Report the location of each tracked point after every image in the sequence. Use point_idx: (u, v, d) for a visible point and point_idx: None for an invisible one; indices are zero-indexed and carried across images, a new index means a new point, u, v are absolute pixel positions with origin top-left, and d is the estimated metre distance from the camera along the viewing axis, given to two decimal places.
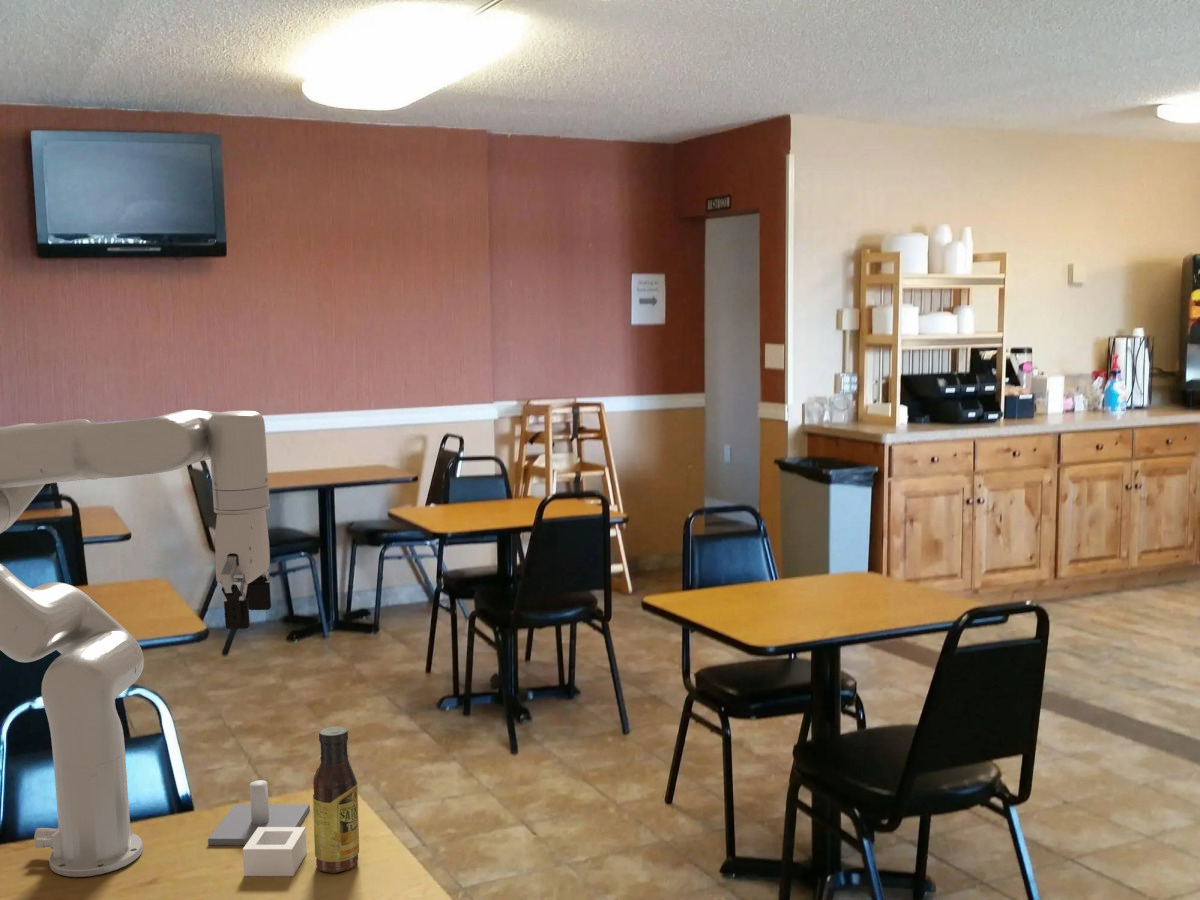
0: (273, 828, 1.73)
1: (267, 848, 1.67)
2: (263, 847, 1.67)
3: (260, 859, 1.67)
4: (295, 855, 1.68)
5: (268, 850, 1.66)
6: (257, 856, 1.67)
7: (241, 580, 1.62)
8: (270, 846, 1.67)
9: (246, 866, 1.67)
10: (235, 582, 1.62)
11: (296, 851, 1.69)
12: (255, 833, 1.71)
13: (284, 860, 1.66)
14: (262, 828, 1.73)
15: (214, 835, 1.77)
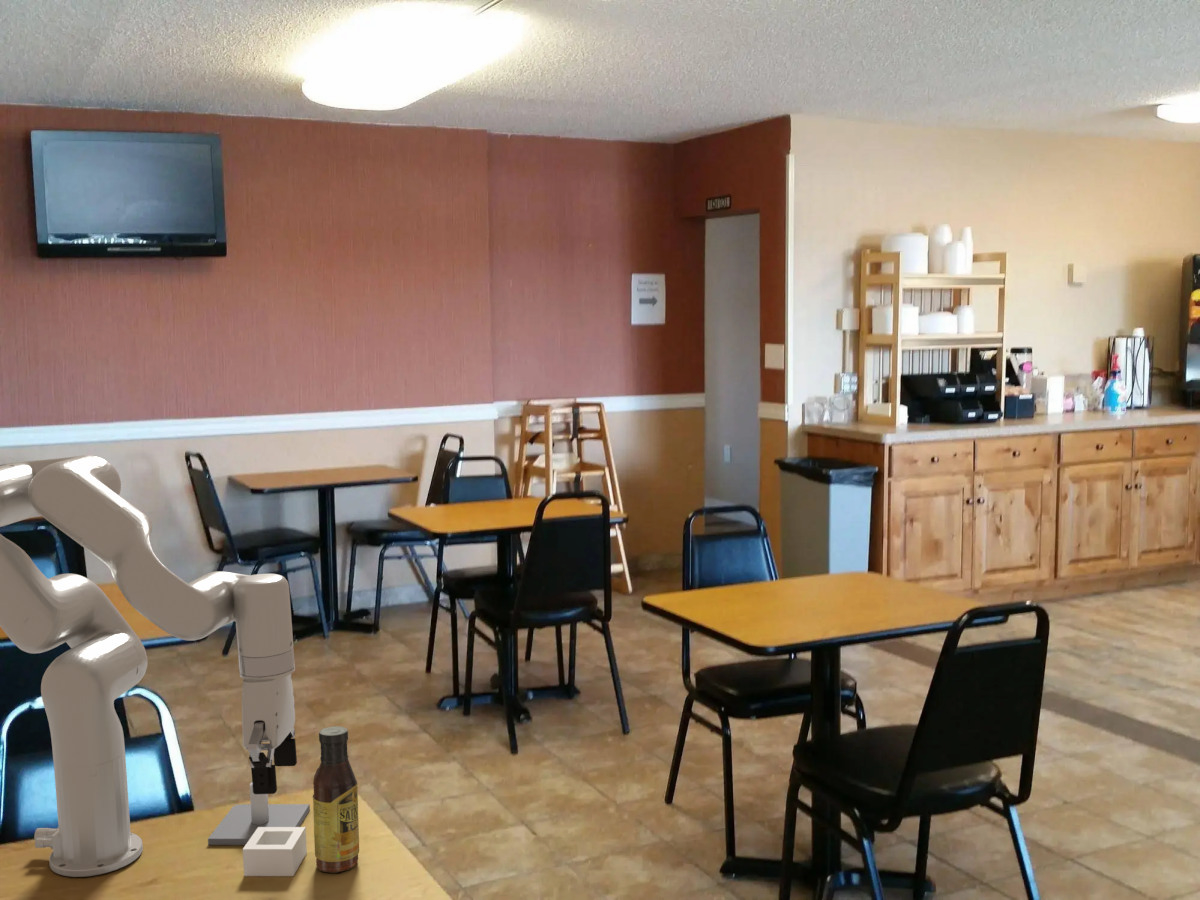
0: (273, 828, 1.73)
1: (267, 848, 1.67)
2: (263, 847, 1.67)
3: (260, 859, 1.67)
4: (295, 855, 1.68)
5: (268, 850, 1.66)
6: (257, 856, 1.67)
7: (268, 746, 1.63)
8: (270, 846, 1.67)
9: (246, 866, 1.67)
10: (262, 748, 1.63)
11: (296, 851, 1.69)
12: (255, 833, 1.71)
13: (284, 860, 1.66)
14: (262, 828, 1.73)
15: (214, 835, 1.77)
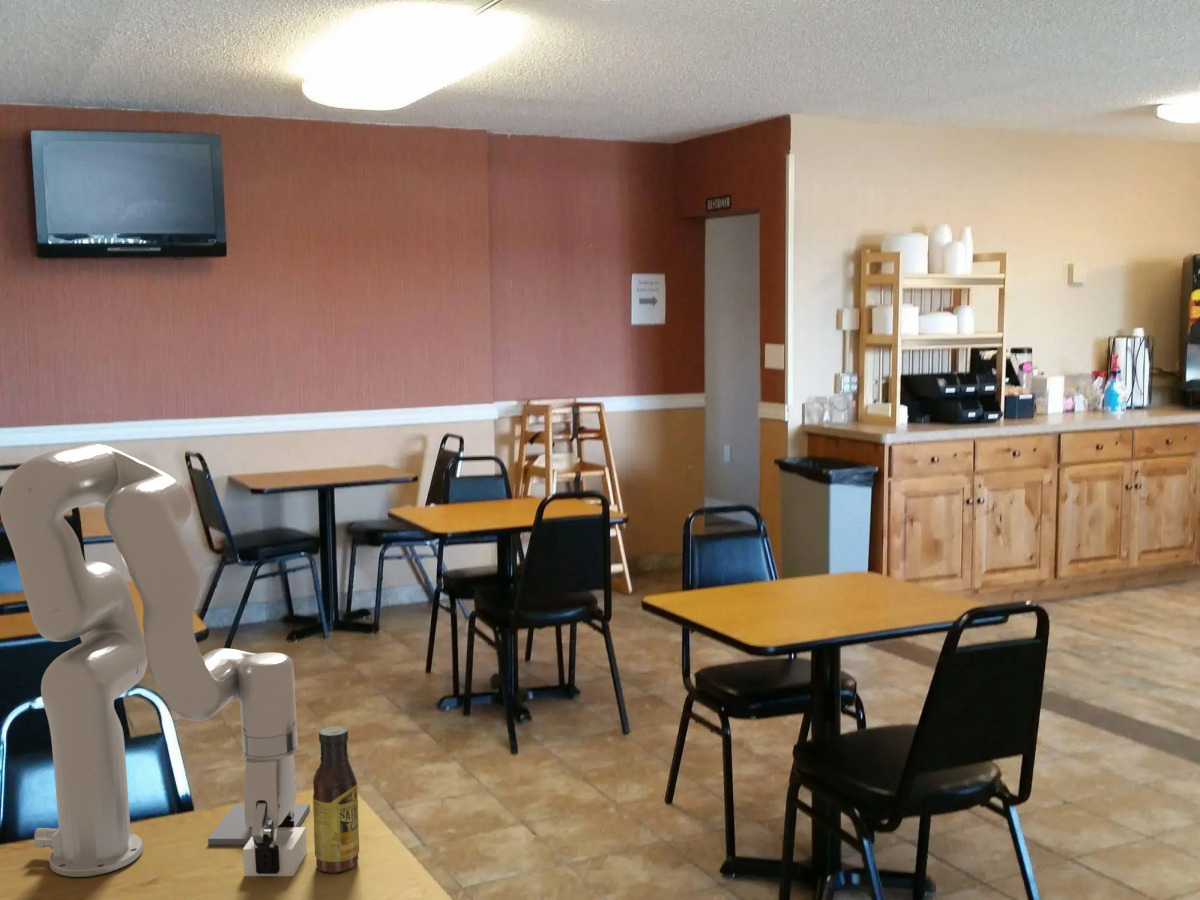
0: None
1: None
2: None
3: None
4: (296, 855, 1.68)
5: None
6: None
7: (271, 827, 1.65)
8: None
9: (246, 866, 1.67)
10: (265, 828, 1.65)
11: (296, 851, 1.69)
12: None
13: (284, 860, 1.66)
14: None
15: (214, 835, 1.77)
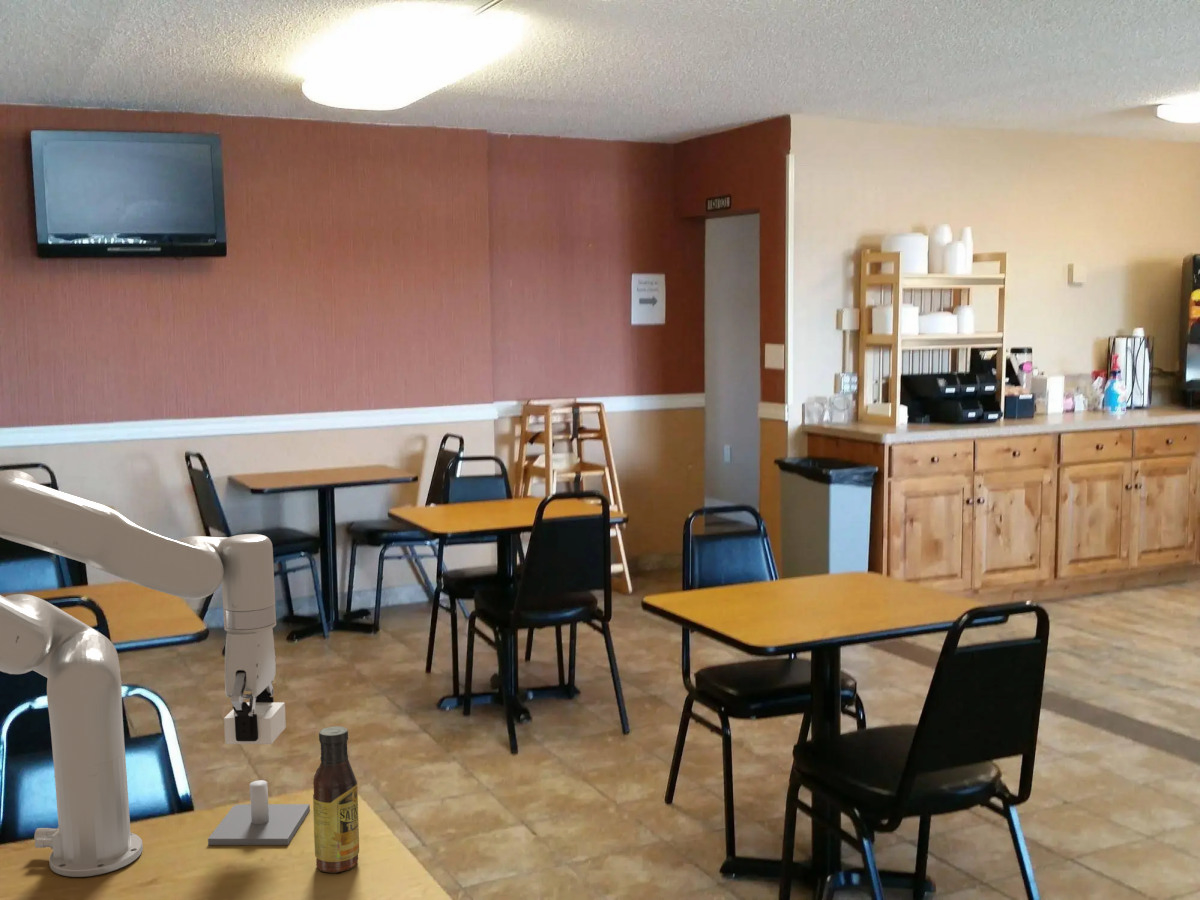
0: None
1: None
2: None
3: None
4: (274, 725, 1.78)
5: None
6: None
7: (249, 696, 1.75)
8: None
9: (227, 734, 1.77)
10: (244, 698, 1.75)
11: (275, 722, 1.78)
12: None
13: (263, 729, 1.76)
14: None
15: (214, 835, 1.77)
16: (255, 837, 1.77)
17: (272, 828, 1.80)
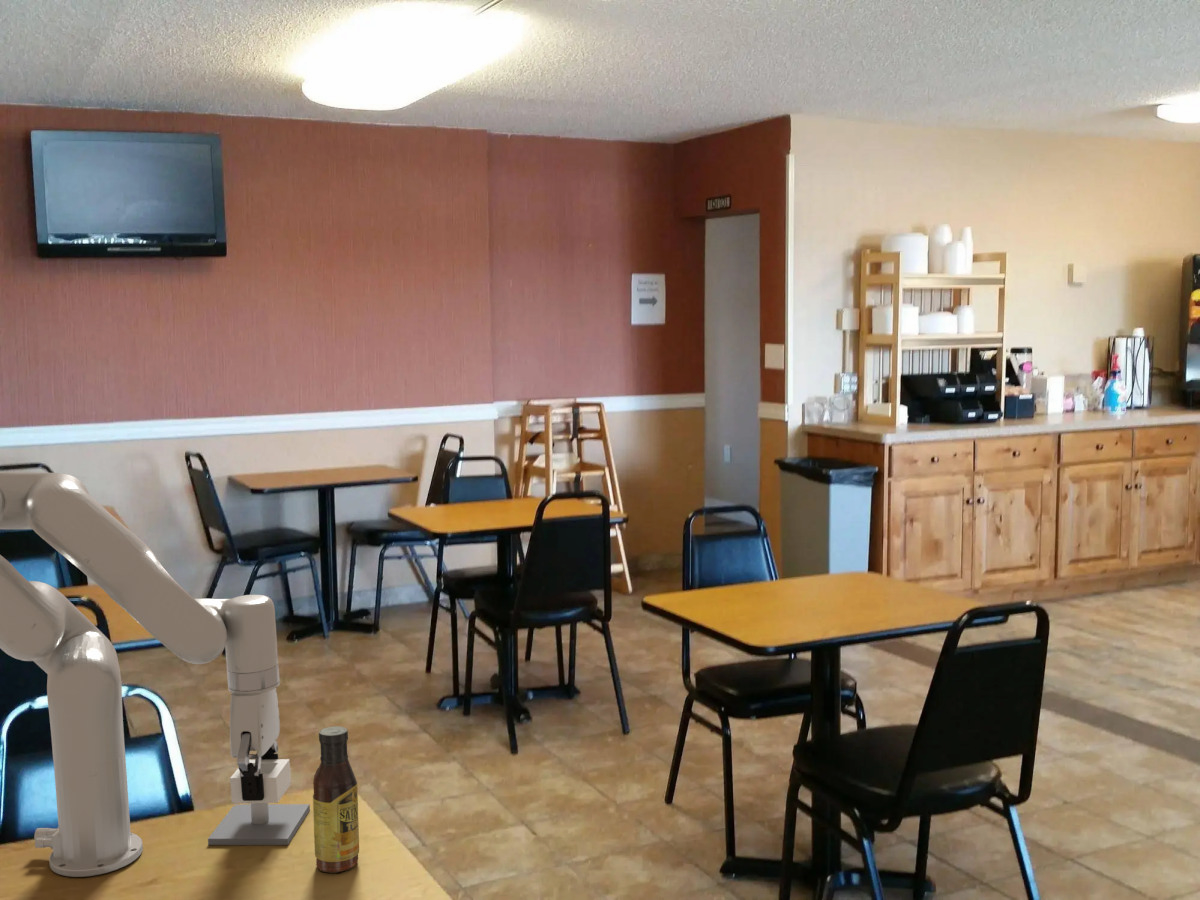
0: None
1: None
2: None
3: None
4: (280, 783, 1.80)
5: None
6: None
7: (255, 757, 1.77)
8: None
9: (233, 794, 1.78)
10: (250, 758, 1.77)
11: (281, 780, 1.80)
12: None
13: (269, 788, 1.78)
14: (249, 760, 1.84)
15: (214, 835, 1.77)
16: (255, 837, 1.77)
17: (272, 828, 1.80)
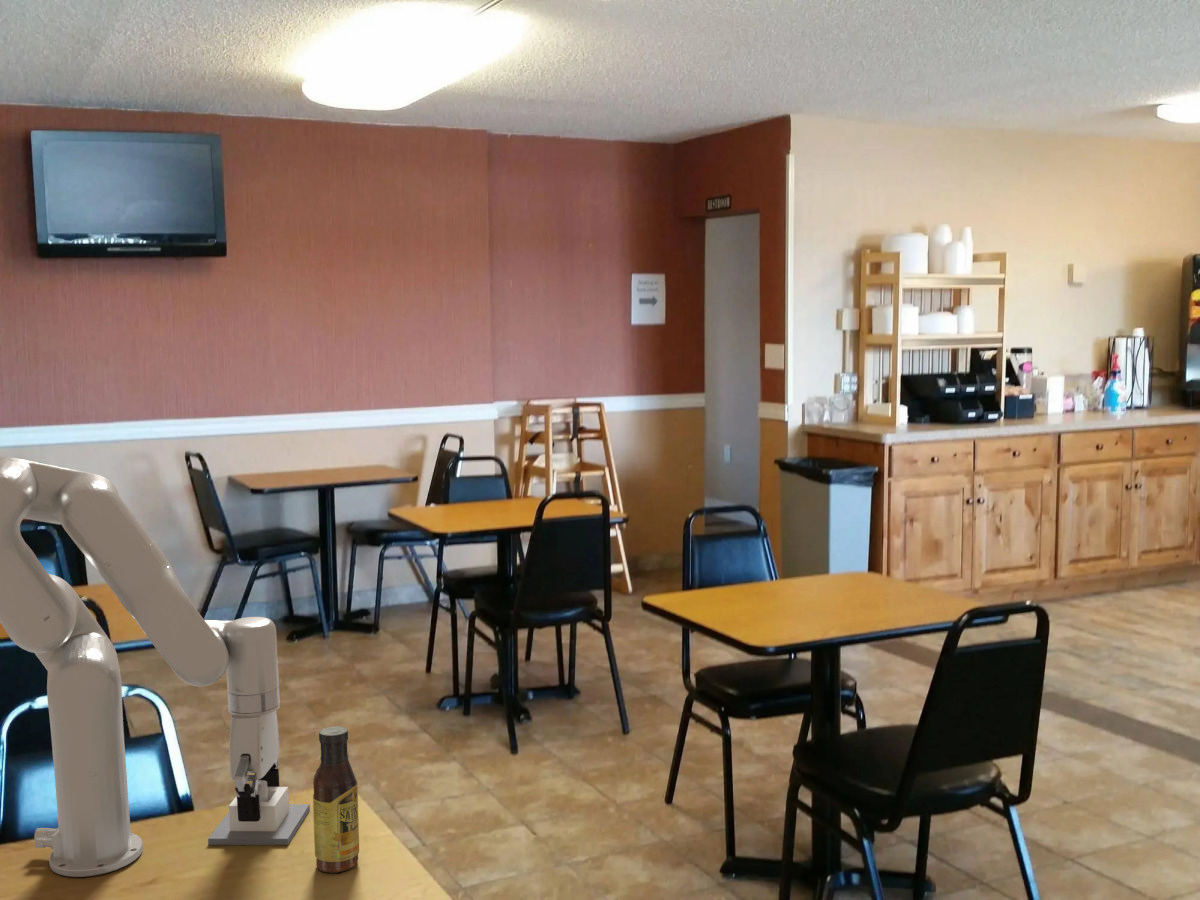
0: None
1: None
2: None
3: None
4: (278, 812, 1.80)
5: None
6: None
7: (253, 777, 1.77)
8: None
9: (231, 822, 1.79)
10: (247, 779, 1.77)
11: (279, 808, 1.80)
12: None
13: (267, 816, 1.78)
14: None
15: (214, 835, 1.77)
16: (255, 837, 1.77)
17: None
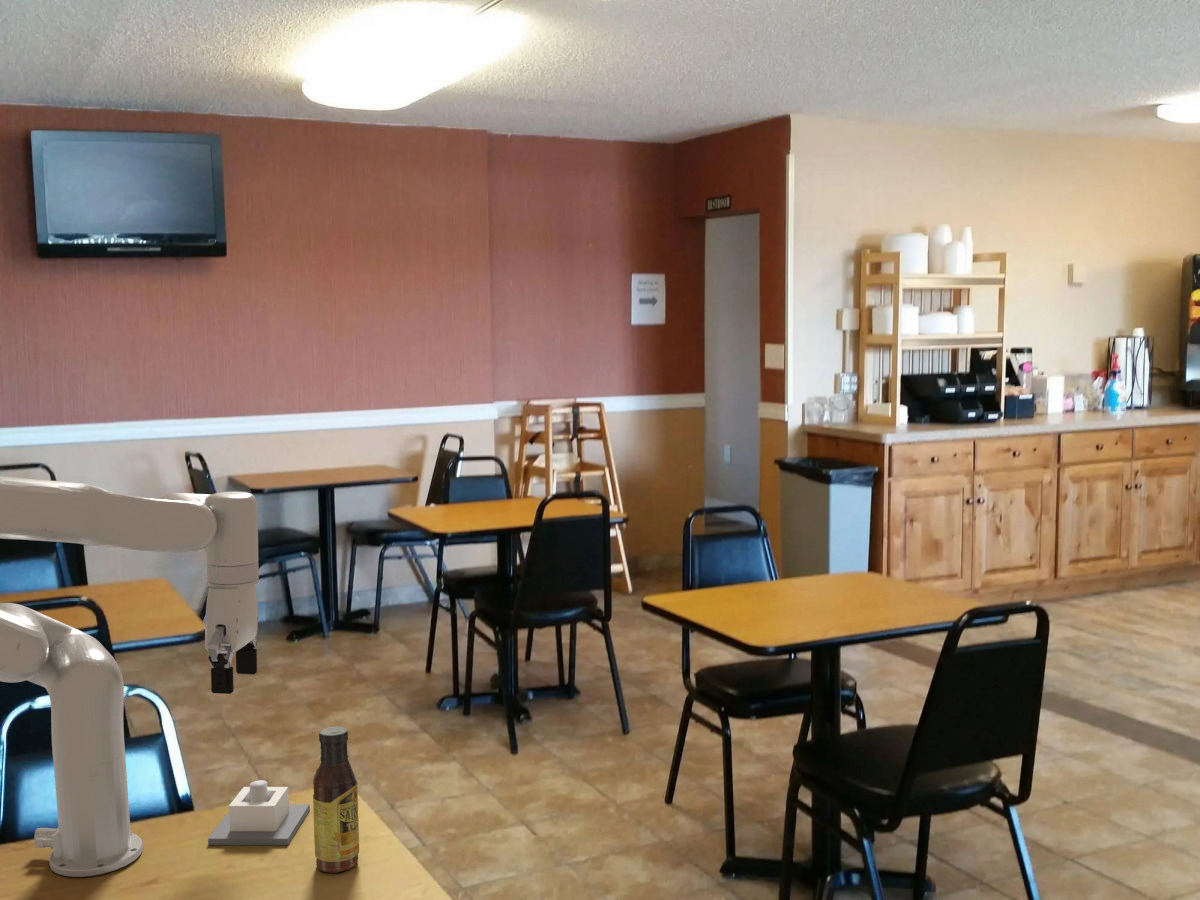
0: None
1: (252, 805, 1.78)
2: (247, 804, 1.79)
3: (245, 815, 1.78)
4: (278, 812, 1.80)
5: (252, 807, 1.78)
6: (242, 813, 1.78)
7: (227, 649, 1.76)
8: (254, 803, 1.79)
9: (231, 822, 1.79)
10: (222, 650, 1.76)
11: (279, 808, 1.80)
12: (241, 792, 1.83)
13: (267, 816, 1.78)
14: (247, 788, 1.85)
15: (214, 835, 1.77)
16: (255, 837, 1.77)
17: None
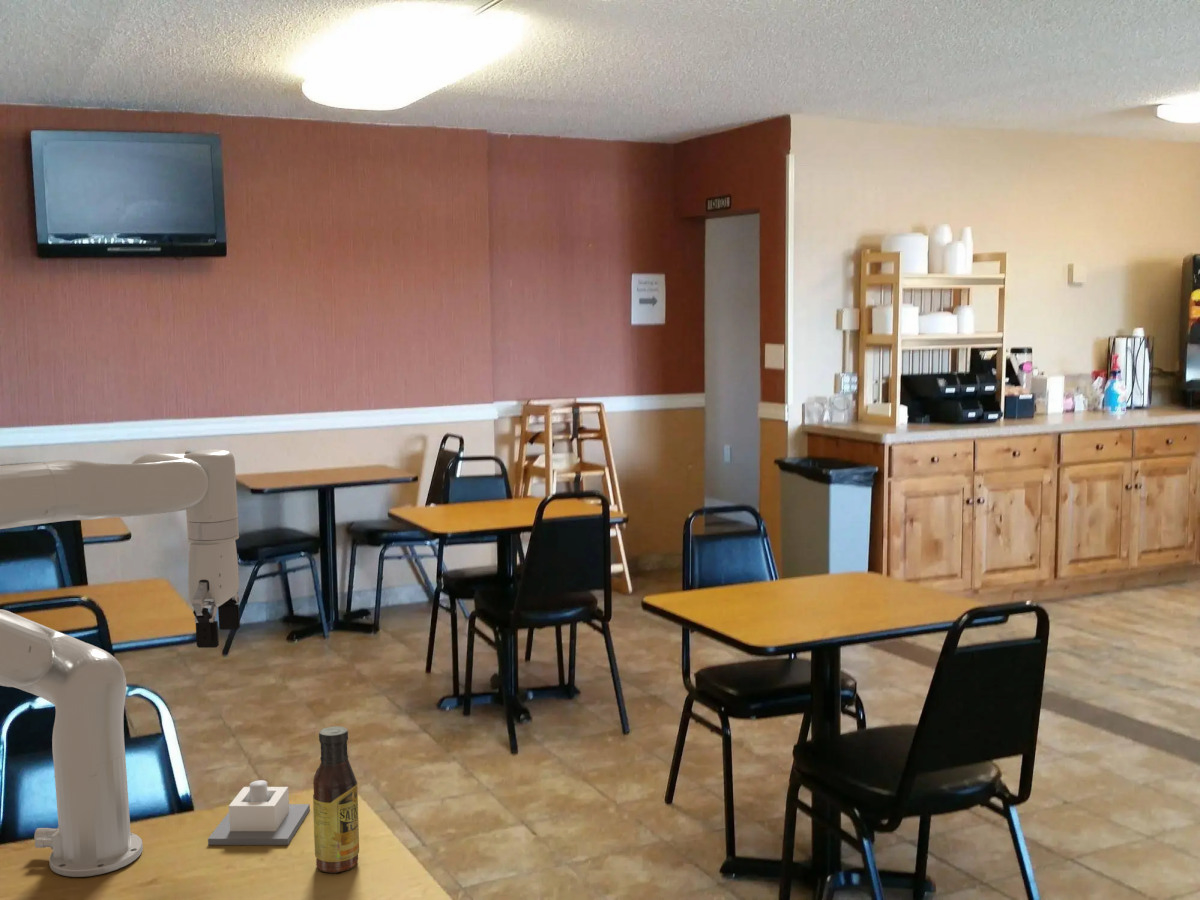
0: None
1: (252, 805, 1.78)
2: (247, 804, 1.79)
3: (245, 815, 1.78)
4: (278, 812, 1.80)
5: (252, 807, 1.78)
6: (242, 813, 1.78)
7: (211, 604, 1.79)
8: (254, 803, 1.79)
9: (231, 822, 1.79)
10: (206, 605, 1.80)
11: (279, 808, 1.80)
12: (241, 792, 1.83)
13: (267, 816, 1.78)
14: (247, 788, 1.85)
15: (214, 835, 1.77)
16: (255, 837, 1.77)
17: None
